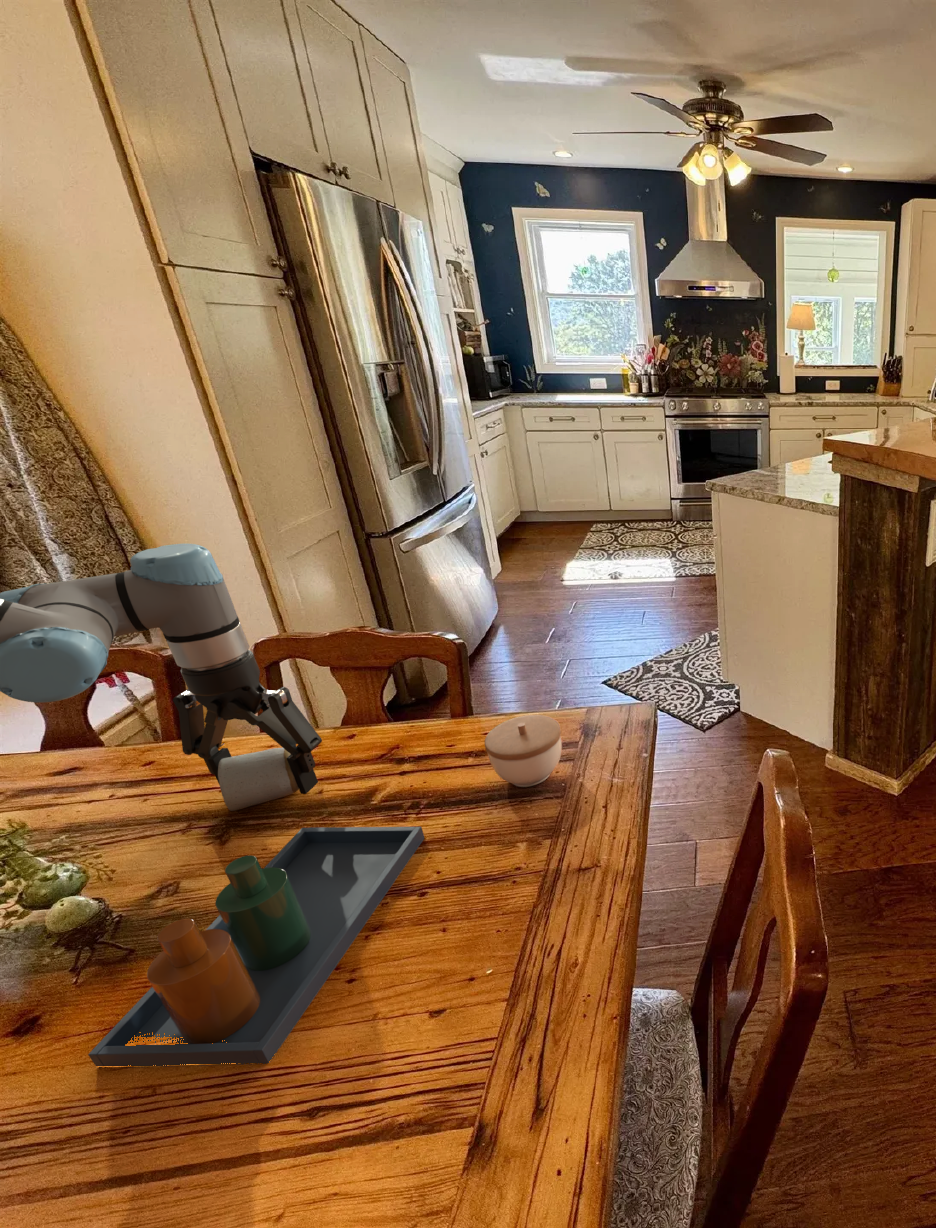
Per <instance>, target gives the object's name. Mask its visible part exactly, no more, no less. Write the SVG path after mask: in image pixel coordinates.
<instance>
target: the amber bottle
mask: <svg viewBox="0 0 936 1228" xmlns="http://www.w3.org/2000/svg"><path fill="white" fill-rule="evenodd" d="M156 939H157V942H158V943H159V945H160V947H161V949H162V951H161V952H160V953H159V954H158V955H157V956H156V957H155V958H154V959H153V961H152V962H151V963H150V965H149V967H148V969H147V972H146V977H147V981H148V982H149V983H150V985H151V987H153V989H154V990H155V992H156V994H157V995H158V997H159V999H160V1000H161V1002H162V1004H163V1005H164V1007H165V1009H166V1010H167V1012H168V1014H169V1015H170V1017H171V1019H172V1020H173V1022H174V1024H175V1026H176V1027H177V1029H178V1031H179V1032H180V1034H181V1036H182V1037H183V1039H184V1040H185V1042H186V1043H188V1044H212V1043H215V1042H218V1041H220V1040H222V1039H224V1038H226V1037H228V1036H230V1035H232V1034H233V1033H235V1032H236V1031H238V1030H239V1029H240V1028H241V1027H243V1026H244V1025H245V1024H246V1023H247V1022H248V1021H249V1020H250V1019H251V1018H252V1016H253V1015H254V1014H255V1012H256V1011H257V1009H258V1007H259V1004H260V995H259V993H258V991H257V989H256V987H255V985H254V983H253V981H252V979H251V977H250V975H249V973H248V971H247V969H246V967H245V965H244V963H243V961H242V959H241V957H240V955H239V953H238V951H237V949H236V947H235V945H234V943H233V941H232V939H231V937H230V935H229V933H228V932H226V931H224V930H221V929H209V930H206V929H205V930H199V927H198V925H197V924H196V921H195V920H194V919H192V918H182V919H178V920H175V921H173V922H171V923H169V924H167V925H166V926H165V927H163V928H162V929H161V930H160V931H159V932H158V934H157V937H156Z"/></svg>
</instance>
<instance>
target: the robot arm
mask: <svg viewBox="0 0 936 1228" xmlns="http://www.w3.org/2000/svg"><path fill="white" fill-rule="evenodd" d="M129 562H130V569H128V570H125V571H121V572H115V573H108V574H103V575H95V576H89V577H81V578H76V579H75V578H74V579H68V580H62V581H56V582H55V581H54V582H50V583H45V582H44V583H35V584H31V585H28V586H25V587H21V588H20V587H19V588H16V589H10V590H6V591H2V592H0V692H1V693H2V694H4V695H6V696H7V697H9V698H12V699H14V700H17V701H22V702H27V703H38V704H39V703H54V702H60V701H64V700H68V699H70V698H73V697H75V696H77V695H80V694H81V693H83V692H85V691H86V690H88V689H89V688H90V687H91V686H92V685H93V684H94V683H95V682H96V681H97V679H98V678H99V675H100V674H101V673H102V672H103V671H104V669H105V668H106V667H107V664H108V658H109V652H110V649H111V645H112V643H113V642H114V638H116V637H119V636H125V635H129V634H134V633H141V632H144V631H149V630H152V629H159V630H160V631H161V632H162V635H163V636H164V639H165V641H166V644H167V645H168V648H169V651H170V652H171V655H172V657H173V659H174V662H175V664H176V666H177V667H180V670H179V672H180V674H181V676H182V679H183V681H184V682H185V683H184V684H185V685H186V687H187V689H186V690H184V691H183V692H180V693H179V694H178V695H176V696H175V697H173V698H172V702H173V703H174V705H175V707H176V709H177V711H178V717H179V729H180V738H181V750H182V753H183V754H185V755H187V756H191V755H193V754H194V755H197V756H198V757H199V758H201V759H203V761H204V763H205V766H206V767H207V769H208V771H209V773H210V774H211V775H214V776H215V779H216V781H217V784H218V785H219V786H220V784H219V779H218V766H219V762H220V760H221V759H223V758H228V757H233V756H232V755H231V752H230V749H229V748H228V747H222V746H224V745H225V743H223V738H224V735H225V732H226V729H227V725H228V723H229V721H232V720H240V721H245V722H247V723H248V724H249V725H250V726H257V727H258V728H259V729H260V730H261V731H263V732H264V733H265V734H266V735H267V736H268V737H270V738H271V739H272V740H273V741H274V742H276V744H278V746H280V747H281V748H284V749H285V750H286V751H287V752H289V753H290V754H291V755H290V756H289V757H287V761H288V763H289V766H290V768H291V771H292V773H293V775H294V777H295V780H296V783H297V785H298V788H299V789H298V790H299V792H300V794H301V795H307V794H308V793H309V792H310V791H311V790H312V789H313V788H315V786H316V785H317V784H318V783H319V780H318V777H317V775H316V773H315V770H314V769H315V767H316V762H315V761H316V760H315V759H314V756H313V754H312V752H313V751H314V750H315V749H316V748H317V747H318V746H320V745H321V743H322V742H323V739H322V737H321V736H320V735H319V733H317V731H316V730H315V727H313V725H312V724H311V723H310V722H309V720H308V719H307V718H306V717H305V715H304V714H303V713H302V712H301V710H300V709H299V708H298V707H299V706H297V705H296V703H295V702H294V701H293V698H292V695H291V691H290V689H288V687H286V686H281V687H280V688H278V689H277V690H276V689H275V690H272V689H270V690H269V689H266V688H265V687H264V685H262V684H261V682H260V676H261V670H260V667H259V665H258V662H257V659H256V658H255V655H254V653H253V651H252V650H250V644H249V641H248V639H247V636H246V634H245V631H244V628H243V626H242V624H241V621H240V618H239V616H238V613H237V610H236V608H235V606H234V603H233V601H232V598H231V595H230V592H229V589H228V587H227V584H226V582H225V579H224V576H223V574H222V573H221V571H220V569H219V567H218V565H217V563H216V560H215V559H214V556H213V554H212V553H211V551H210V550H209V549H208V548H207V547H205V546H204V545H203V546H202V545H200V544H196V543H174V544H173V543H172V544H166V545H160V546H158V547H154V548H153V547H152V548H147V549H144V550H141V551H138V552H136V553H135V554H134V555H132V556H131V557H130V560H129ZM204 708H205V709H206V714H205V715H204ZM260 711H262V712H260ZM259 712H260V713H259ZM258 713H259V714H258ZM257 714H258V715H257Z"/></svg>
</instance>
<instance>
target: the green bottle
mask: <svg viewBox="0 0 936 1228" xmlns="http://www.w3.org/2000/svg"><path fill="white" fill-rule="evenodd" d="M224 873H225V875H226V877H227V879H228V881H229V883H228V884H226V886H225V887H223V889H221V891H220V892H219V893H218V895H217V896H216V899H215V903H214V904H215V907H216V909H217V912H218V914H219V915H221V917H222V919H223V921H224V924H225V926H226V928H227V930H228V932H229V934H230V936H231V938H232V940H233V942H234V944H235V946H236V948H237V950H238V952H239V954H240V956H241V958H242V960H243V962H244V964H245V966H246V967H247V968H248V969H250V970H254V971H264V970H269V969H273V968H275V967H278V966H280V965H282V964H284V963H286V962H288V961H290V960H291V959H293V958H294V957H295V956H297V955H298V954H299V953H300V952H301V951H302V950H303V949H304V948H305V947H306V945H307V944H308V942H309V940H310V938H311V930H310V928H309V926H308V923H307V921H306V918H305V916H304V914H303V911H302V909H301V907H300V904H299V902H298V899H297V897H296V895H295V892H294V890H293V888H292V885H291V883H290V880H289V878H288V876H287V873H286V872H285V871H284V870H282V869H280V868H275V867H270V868H265V867H263V868H262V866H261V865H260V862H259V860H258V858H257V857H256V856H255V855H250V854H249V855H244V856H241V857H237V858H236V859H234V860H232V861H231V862H229V863H228V864H227V866H226V867H225V869H224Z"/></svg>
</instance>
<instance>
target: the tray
mask: <svg viewBox="0 0 936 1228" xmlns="http://www.w3.org/2000/svg"><path fill="white" fill-rule="evenodd" d="M424 840H425V834H424V832H423V827H422V826H339V827H338V826H337V827H336V826H332V827H331V826H329V827H328V826H327V827H323V826H321V827H319V826H318V827H317V826H316V827H301V828H300V829H299V831H297V833H295V835H293V836H292V838H291V839H290V840H289V841H288V842H287V843H286V844H285V845H284V846H283V847H282V848H281V849H280V850H279V852H278V853H277V854H276V855H275V856H274V857H272V859H271V860H270V861H268V863H267V864H266V866H264V868H270V867H275V868H280V869H282V870H284V871H285V872H286V873H287V876H288V878H289V880H290V883H291V885H292V888H293V890H294V892H295V895H296V897H297V899H298V902H299V904H300V907H301V909H302V911H303V914H304V916H305V918H306V921H307V923H308V926H309V928H310V930H311V938H310V940H309V942H308V944H307V945H306V947H305V948H304V949H303V950H302V951H301V952H300V953H299V954H298V955H297V956H295V957H294V958H293V959H291V960H290V961H288V962H286V963H284V964H282V965H280V966H278V967H275V968H273V969H269V970H264V971H254V970H250V969H248V968H247V967H246V966H245V967H246V969H247V971H248V973H249V975H250V977H251V979H252V981H253V983H254V985H255V987H256V989H257V991H258V993H259V995H260V1004H259V1007H258V1009H257V1011H256V1012H255V1014H254V1015H253V1016H252V1018H251V1019H250V1020H249V1021H248V1022H247V1023H246V1024H245V1025H244V1026H243V1027H241V1028H240V1029H239V1030H238V1031H236V1032H235V1033H233V1034H232V1035H230V1036H228V1037H226V1038H224V1039H222V1040H223V1042H222V1040H220V1041H218V1042H215V1043H213V1044H180V1040H181V1039H182V1040H181V1043H182V1041H183V1043H186V1042H185V1040H183V1038H180V1037H182V1036H181V1034H180V1032H179V1031H178V1029H177V1027H176V1026H175V1024H174V1022H173V1020H172V1019H171V1017H170V1015H169V1014H168V1012H167V1010H166V1009H165V1007H164V1005H163V1004H162V1002H161V1000H160V999H159V997H158V995H157V994H156V992H155V990H154V989H153V987H152V986H151V987H150V988H149V989H148V991H146V993H144V994H143V996H142V997H140V999H139V1000H138V1001H137V1002H136V1003H135V1004H134V1005H133V1006H132V1007H131V1008H130V1009H129V1011H127V1013H126V1014H125V1015H124V1016H123V1017H122V1018H121V1019H120V1020H119V1021H118V1022H117V1023H116V1024H115V1025H114V1027H113V1028H112V1029H110V1030H109V1032H108V1033H107V1034H106V1035H105V1036H104V1037H103V1038H102V1039H101V1040H100V1041H99V1042H98V1043H97V1044H96V1046H94V1047H93V1049H92V1050H91V1051H90V1052H89V1053H88V1054H87V1055H88V1057H89V1059H90V1060H91V1061H92V1063H93V1064H94V1066H95V1067H96V1066H128V1065H129V1066H130V1065H131V1066H153V1065H154V1066H155V1065H156V1066H163V1065H164V1066H163V1067H168V1066H167V1065H180V1064H181V1065H182V1064H183V1065H184V1064H185V1065H186V1064H221V1063H222V1064H223V1063H224V1064H225V1063H226V1064H227V1063H228V1064H229V1063H230V1064H231V1063H236V1065H239V1064H238V1063H241V1064H240V1065H247V1064H246V1063H249V1064H248V1065H251V1064H250V1063H257V1064H256V1065H261V1064H260V1063H263V1064H262V1065H264V1064H265V1063H266V1064H265V1065H268V1064H267V1063H269V1061H270V1060H271V1059H272V1060H273V1058H274V1057H275V1055H276V1054H277V1053H278V1051H279V1050H278V1049H280V1048H281V1047H282V1045H283V1044H284V1043H285V1041H286V1040H287V1038H288V1037H289V1035H290V1034H291V1032H292V1031H293V1029H294V1028H295V1026H296V1025H297V1024H298V1022H299V1020H300V1019H301V1018H302V1016H303V1015H304V1014H305V1012H306V1011H307V1009H309V1006H310V1005H311V1004H312V1002H313V1001H314V999H315V997H316V996H317V995H318V993H319V992H320V991H321V990H322V987H323V986H324V985H325V983H326V982H327V981H328V979H329V977H330V976H331V975H332V973H333V972H334V970H335V969H336V967H337V966H338V964H339V963H340V961H341V959H343V958H344V956H345V954H346V953H347V952H348V950H349V949H350V947H351V946H352V944H353V943H354V941H355V940H356V938H357V937H358V936H359V934H360V932H361V931H362V930H363V928H364V927H365V925H366V924H367V923H368V921H369V920H370V918H371V917H372V915H373V914H374V912H375V911H376V910H377V908H378V906H379V905H380V904H381V902H382V900H383V899H384V897H386V895H387V893H388V892H389V890H390V889H391V887H393V885H394V884H395V881H396V880H397V879H398V877H399V876H400V875H401V874H402V872H403V870H404V869H405V868H406V866H407V864H408V863H409V862H410V860H411V859H412V857H413V856H414V854H415V853H416V851H417V850H418V848H419V847H420V845H421V844H422V843H423V841H424ZM209 929H221V930H224V931H226V932H228V930H227V928H226V926H225V924H224V921H223V919H222V917H221V915H220V914H219V915H218V916H217V917H216V918H215V919H214V920H213V921H212V922H211V923H210V924H209V925H208V927H207V928H206V929H205V930H209ZM228 933H229V932H228ZM229 935H230V934H229ZM230 937H231V936H230ZM231 939H232V938H231ZM232 941H233V940H232ZM233 943H234V942H233ZM234 945H235V944H234ZM235 947H236V946H235ZM236 949H237V948H236ZM237 951H238V950H237ZM238 953H239V952H238ZM239 955H240V954H239ZM240 957H241V956H240ZM241 959H242V958H241ZM242 961H243V960H242ZM243 963H244V962H243ZM244 965H245V964H244ZM139 1032H141V1033H139ZM152 1032H153V1035H152ZM147 1033H148V1035H147ZM149 1033H150V1035H149ZM164 1033H165V1035H164ZM144 1034H146V1035H145V1036H144ZM157 1034H158V1036H157ZM159 1034H160V1036H159ZM174 1034H175V1035H174ZM134 1035H135V1037H137V1036H138V1037H139V1036H140V1035H141V1037H146V1038H147V1037H152V1036H153V1037H154V1035H155V1037H156V1038H157V1037H160V1038H161V1037H162V1038H163V1037H164V1036H165V1037H172V1039H173V1038H174V1037H175V1039H176V1037H177V1038H179V1041H178V1039H177V1042H178V1043H179V1044H175V1045H136V1046H125V1044H127V1043H128V1041H130V1040H131V1038H132V1037H133V1038H132V1040H133V1041H134ZM142 1035H143V1036H142ZM169 1035H170V1036H169ZM156 1038H155V1039H156ZM135 1039H136V1038H135ZM143 1039H144V1038H143ZM158 1039H159V1038H158ZM168 1039H169V1038H168ZM168 1039H167V1041H168ZM138 1040H139V1038H138ZM153 1040H154V1039H153ZM170 1040H171V1038H170ZM224 1040H225V1041H224ZM148 1041H149V1040H148ZM150 1041H151V1040H150ZM165 1041H166V1040H165ZM173 1041H174V1040H172V1043H173ZM175 1041H176V1040H175ZM135 1042H136V1041H135ZM137 1042H138V1041H137ZM143 1042H144V1041H143ZM160 1042H161V1040H160ZM162 1042H163V1040H162ZM177 1042H176V1043H177ZM226 1042H227V1043H226ZM130 1043H131V1042H130ZM132 1043H133V1042H132ZM155 1043H156V1041H155ZM164 1043H165V1042H164ZM167 1043H168V1042H167ZM275 1053H276V1054H275ZM274 1054H275V1055H274ZM273 1056H274V1057H273ZM272 1057H273V1058H272ZM272 1060H271V1061H272ZM271 1061H270V1062H271ZM244 1063H245V1064H244ZM258 1063H259V1064H258ZM269 1064H270V1063H269ZM165 1065H166V1066H165Z"/></svg>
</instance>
